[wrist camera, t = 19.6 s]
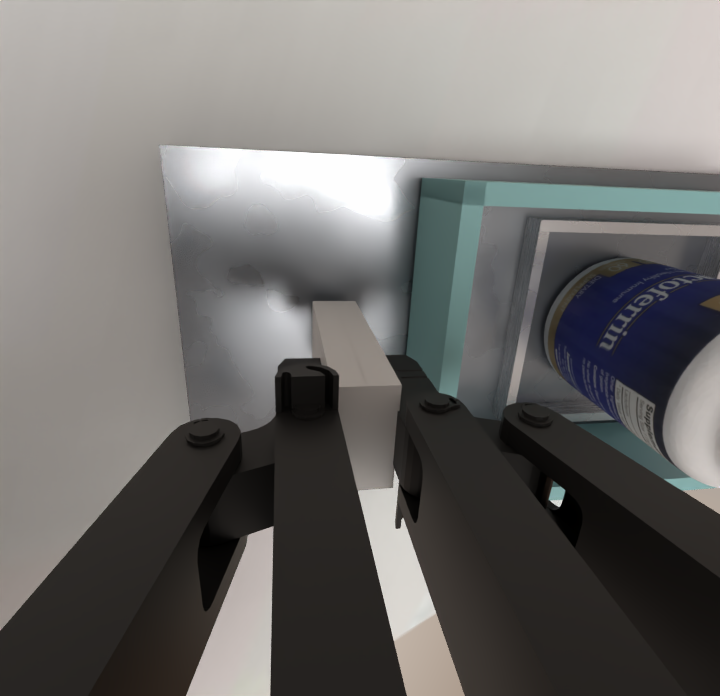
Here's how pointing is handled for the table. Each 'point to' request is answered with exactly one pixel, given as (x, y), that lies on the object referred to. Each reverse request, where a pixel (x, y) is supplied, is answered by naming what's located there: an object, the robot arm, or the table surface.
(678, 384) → the pill bottle
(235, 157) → the plate
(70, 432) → the table surface
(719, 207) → the housing
